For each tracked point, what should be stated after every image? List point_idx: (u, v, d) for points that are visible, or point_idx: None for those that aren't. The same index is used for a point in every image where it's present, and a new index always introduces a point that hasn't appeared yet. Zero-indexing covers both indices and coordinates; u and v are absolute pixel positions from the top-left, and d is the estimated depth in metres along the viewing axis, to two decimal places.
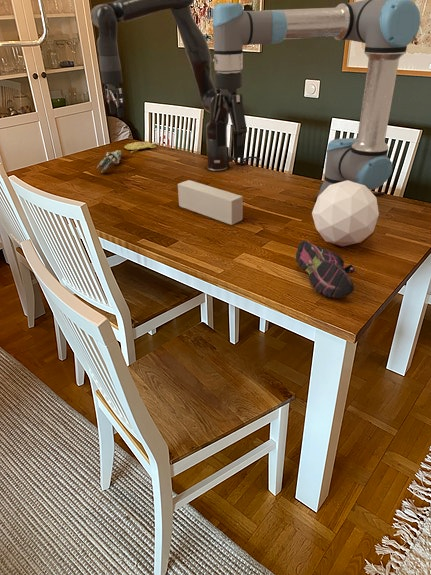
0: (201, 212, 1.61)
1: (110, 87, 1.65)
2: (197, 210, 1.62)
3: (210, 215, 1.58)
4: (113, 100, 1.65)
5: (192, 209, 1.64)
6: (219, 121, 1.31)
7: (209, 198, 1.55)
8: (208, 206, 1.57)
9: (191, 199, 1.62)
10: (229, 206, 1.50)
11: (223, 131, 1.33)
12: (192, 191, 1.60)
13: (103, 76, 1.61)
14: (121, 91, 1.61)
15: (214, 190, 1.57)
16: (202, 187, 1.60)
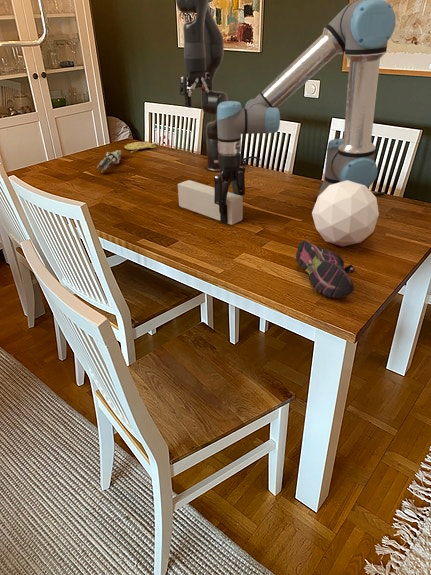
0: (201, 212, 1.61)
1: None
2: (197, 210, 1.62)
3: (210, 215, 1.58)
4: (187, 88, 1.60)
5: (192, 209, 1.64)
6: None
7: (209, 198, 1.55)
8: (208, 206, 1.57)
9: (191, 199, 1.62)
10: (229, 206, 1.50)
11: None
12: (192, 191, 1.60)
13: None
14: (182, 80, 1.55)
15: (214, 190, 1.57)
16: (202, 187, 1.60)
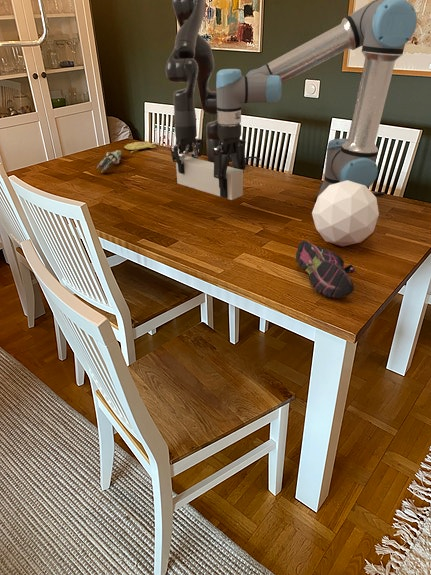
0: (200, 188, 1.56)
1: None
2: (196, 187, 1.57)
3: (210, 191, 1.53)
4: None
5: (191, 186, 1.59)
6: None
7: (208, 173, 1.50)
8: (207, 181, 1.52)
9: (189, 175, 1.57)
10: (229, 180, 1.45)
11: None
12: (190, 166, 1.55)
13: None
14: (173, 150, 1.52)
15: None
16: (201, 162, 1.55)
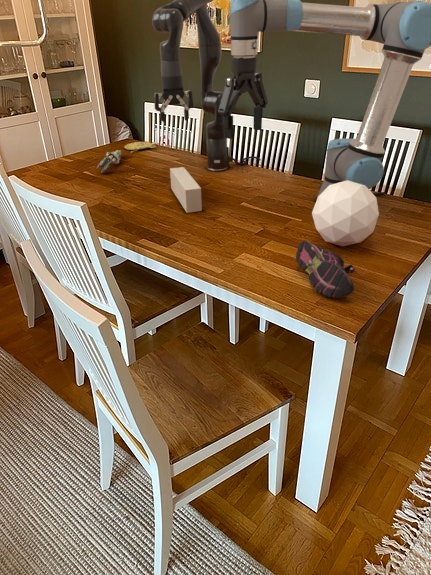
0: (177, 197, 1.74)
1: None
2: (176, 195, 1.76)
3: (180, 201, 1.70)
4: None
5: (175, 193, 1.78)
6: None
7: (179, 185, 1.68)
8: (179, 192, 1.70)
9: (174, 184, 1.77)
10: (185, 195, 1.60)
11: None
12: (174, 176, 1.74)
13: None
14: (155, 96, 1.61)
15: (187, 179, 1.68)
16: (183, 175, 1.72)
